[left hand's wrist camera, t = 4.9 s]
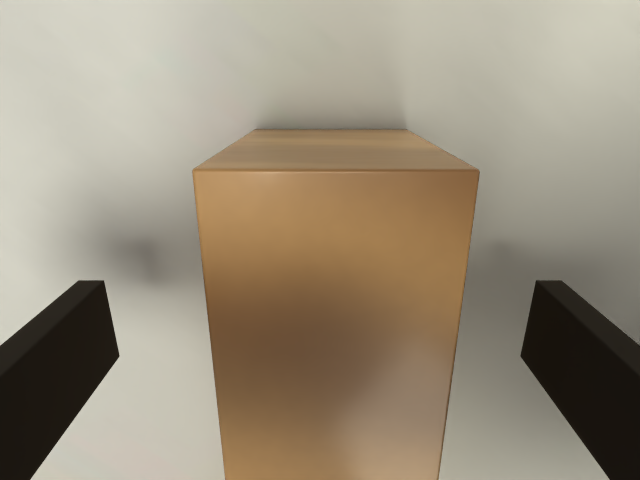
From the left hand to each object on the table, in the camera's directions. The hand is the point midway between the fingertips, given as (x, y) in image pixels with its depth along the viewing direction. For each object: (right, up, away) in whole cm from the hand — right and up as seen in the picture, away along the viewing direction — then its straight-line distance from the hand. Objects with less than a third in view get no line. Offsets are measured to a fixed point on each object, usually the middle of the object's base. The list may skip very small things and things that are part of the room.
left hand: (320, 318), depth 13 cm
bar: (0, -16, +10) cm, 19 cm away
